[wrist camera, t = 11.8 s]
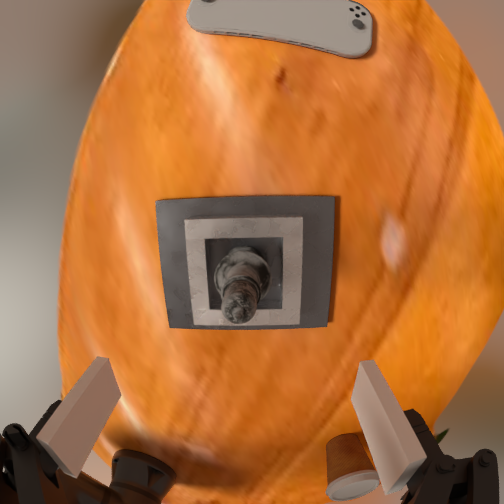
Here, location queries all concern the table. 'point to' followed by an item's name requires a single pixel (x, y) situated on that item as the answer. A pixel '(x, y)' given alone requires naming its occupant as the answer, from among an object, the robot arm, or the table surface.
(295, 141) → the table surface
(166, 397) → the table surface
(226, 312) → the dark grey chess piece
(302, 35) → the handheld gaming console
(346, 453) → the disposable coffee cup
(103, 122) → the table surface
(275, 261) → the collar plate
